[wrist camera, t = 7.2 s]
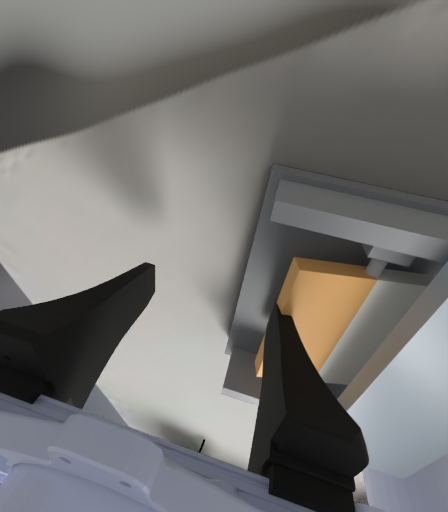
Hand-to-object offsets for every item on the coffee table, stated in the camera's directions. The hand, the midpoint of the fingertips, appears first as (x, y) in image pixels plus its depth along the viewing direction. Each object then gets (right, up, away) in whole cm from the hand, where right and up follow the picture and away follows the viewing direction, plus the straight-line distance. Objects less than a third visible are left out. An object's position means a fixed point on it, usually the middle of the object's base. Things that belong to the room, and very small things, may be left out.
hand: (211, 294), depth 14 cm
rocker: (+7, -2, -1) cm, 7 cm away
